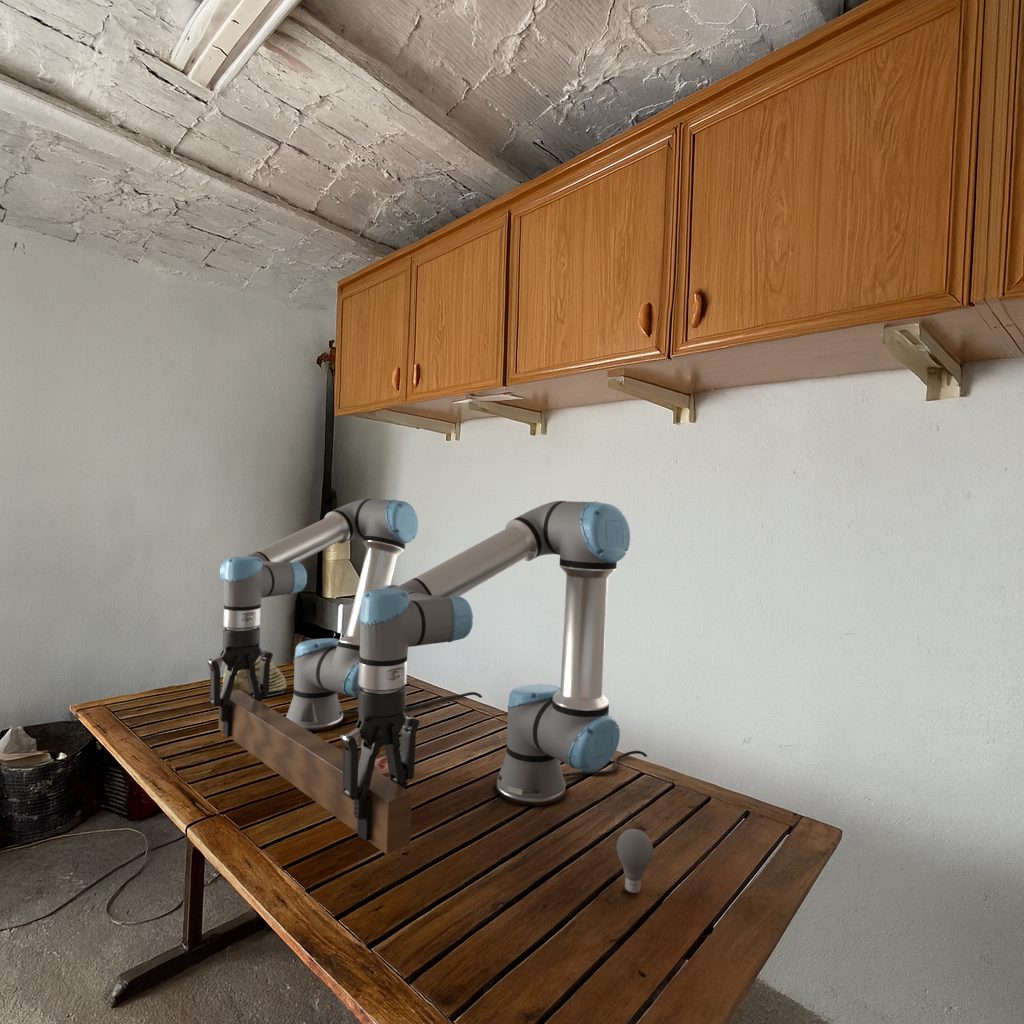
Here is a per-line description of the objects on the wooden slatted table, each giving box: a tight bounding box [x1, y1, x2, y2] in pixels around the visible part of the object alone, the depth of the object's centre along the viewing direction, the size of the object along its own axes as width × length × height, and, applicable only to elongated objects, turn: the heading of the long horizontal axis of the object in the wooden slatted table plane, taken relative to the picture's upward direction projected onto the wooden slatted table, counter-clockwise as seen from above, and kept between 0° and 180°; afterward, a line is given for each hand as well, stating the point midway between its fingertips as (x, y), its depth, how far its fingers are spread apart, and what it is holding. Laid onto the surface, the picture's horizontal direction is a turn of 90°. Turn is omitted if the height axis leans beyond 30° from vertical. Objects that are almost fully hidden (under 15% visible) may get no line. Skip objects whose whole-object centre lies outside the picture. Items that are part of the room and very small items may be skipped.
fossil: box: [222, 648, 288, 698], centre depth 198 cm, size 9×18×15 cm, turn 132°
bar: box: [218, 690, 413, 855], centre depth 121 cm, size 66×4×8 cm, turn 45°
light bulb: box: [615, 828, 654, 894], centre depth 106 cm, size 6×6×10 cm
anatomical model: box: [373, 755, 390, 779], centre depth 144 cm, size 13×4×12 cm
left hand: (239, 731), depth 140 cm, fingers closed on bar, 4 cm apart
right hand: (377, 830), depth 102 cm, fingers closed on bar, 4 cm apart
